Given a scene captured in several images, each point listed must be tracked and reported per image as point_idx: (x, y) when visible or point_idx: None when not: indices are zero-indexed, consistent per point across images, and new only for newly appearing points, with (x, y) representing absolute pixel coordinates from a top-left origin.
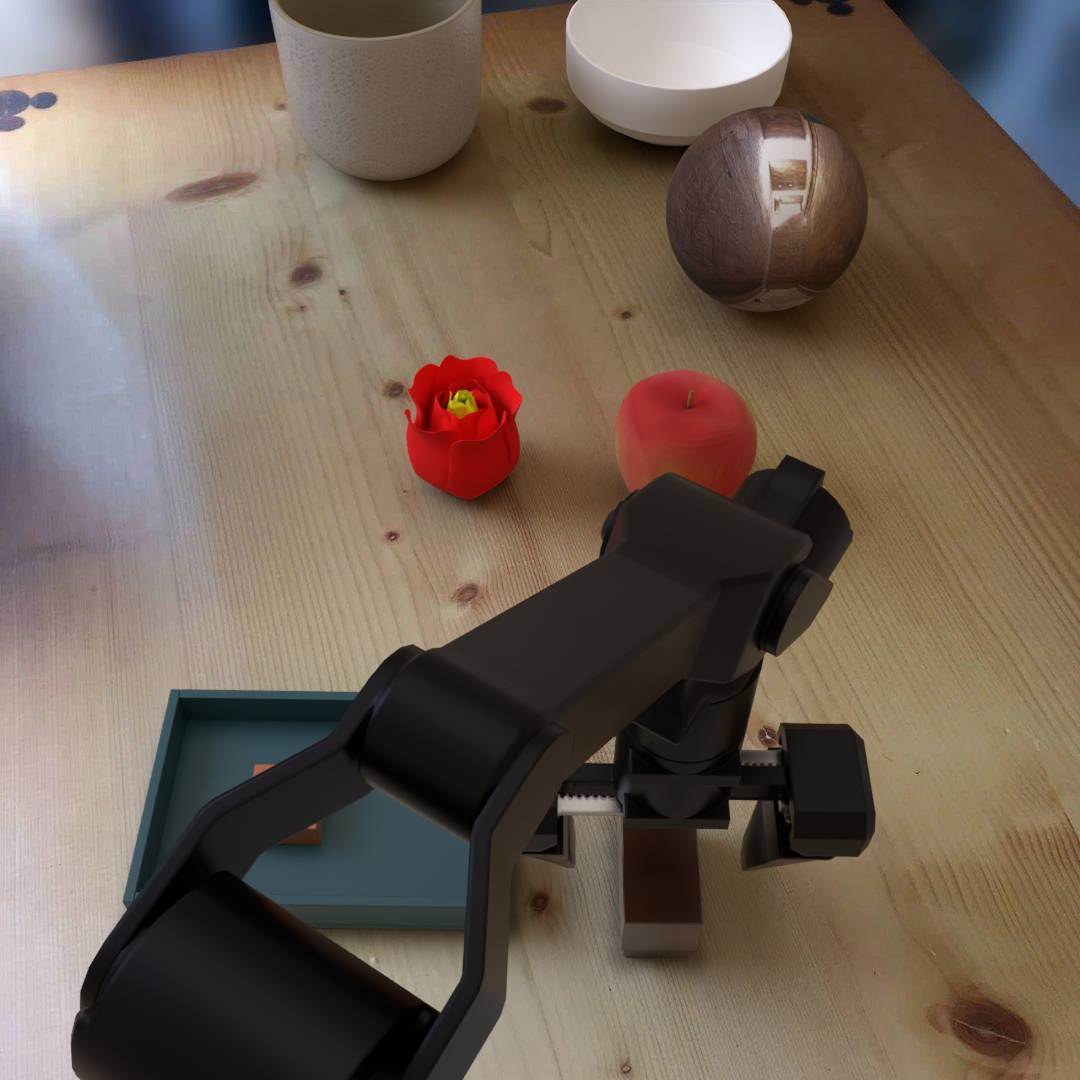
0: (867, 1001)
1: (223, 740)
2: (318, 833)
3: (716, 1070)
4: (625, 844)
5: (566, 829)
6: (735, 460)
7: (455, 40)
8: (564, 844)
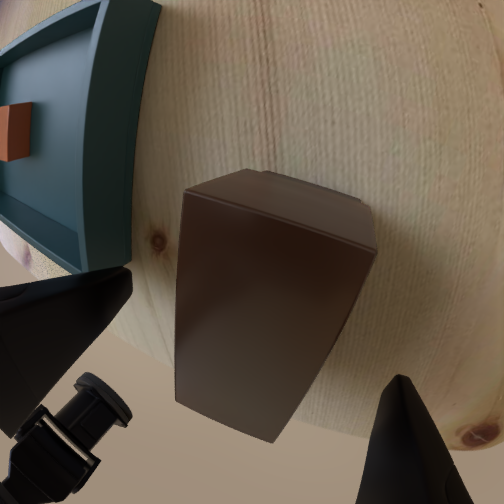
0: (431, 417)
1: (8, 78)
2: (16, 158)
3: None
4: (179, 324)
5: (13, 388)
6: None
7: None
8: (11, 421)
